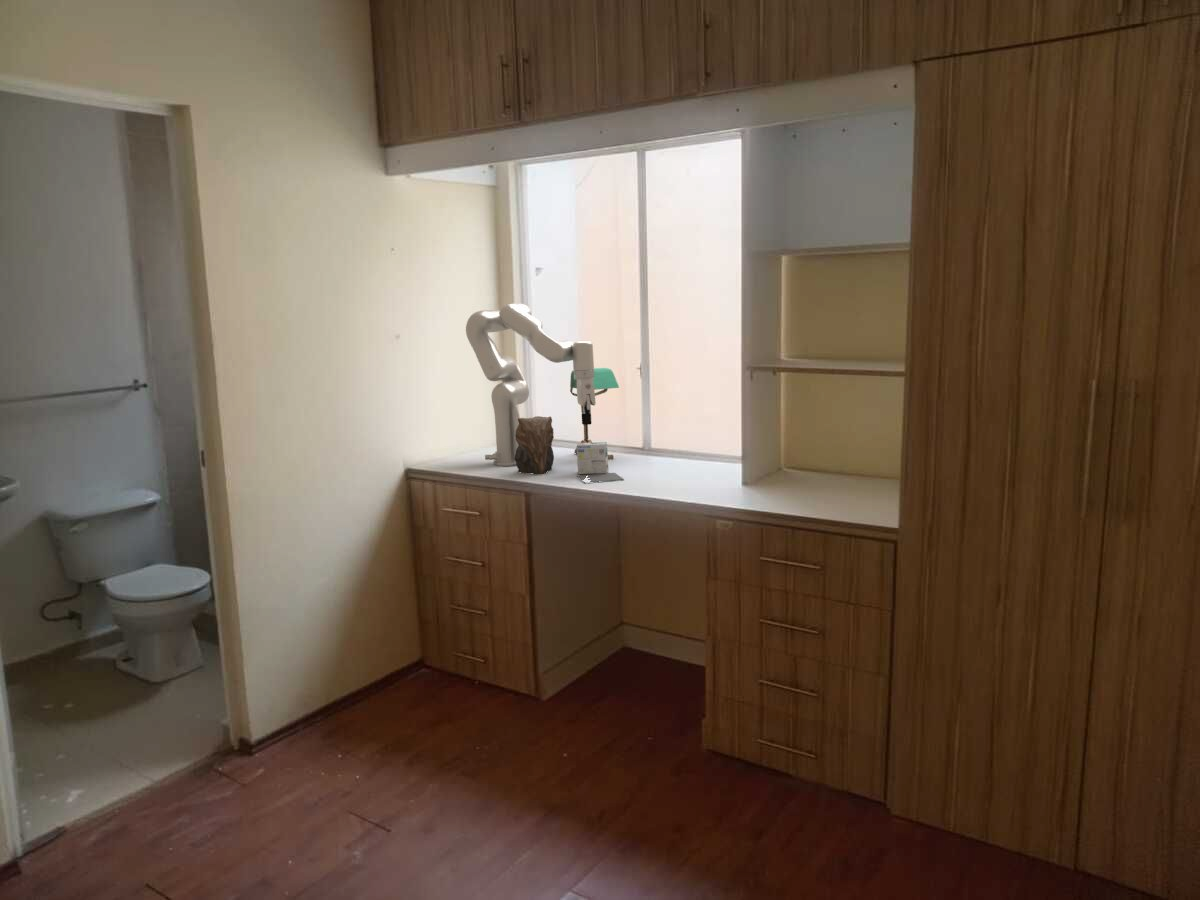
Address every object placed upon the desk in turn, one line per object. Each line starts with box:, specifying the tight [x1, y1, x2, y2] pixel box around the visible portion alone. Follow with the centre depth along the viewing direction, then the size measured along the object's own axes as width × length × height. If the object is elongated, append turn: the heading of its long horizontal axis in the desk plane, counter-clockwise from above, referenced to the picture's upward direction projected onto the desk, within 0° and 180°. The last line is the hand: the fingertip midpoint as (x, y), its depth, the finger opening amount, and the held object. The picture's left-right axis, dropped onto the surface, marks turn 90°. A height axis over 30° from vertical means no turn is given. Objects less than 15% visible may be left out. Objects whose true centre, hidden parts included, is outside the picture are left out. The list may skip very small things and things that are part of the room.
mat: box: [576, 472, 625, 483], centre depth 305 cm, size 14×12×1 cm
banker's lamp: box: [569, 367, 620, 460], centre depth 343 cm, size 16×21×35 cm
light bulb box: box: [576, 441, 609, 475], centre depth 314 cm, size 11×7×11 cm, turn 84°
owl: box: [514, 415, 555, 475], centre depth 321 cm, size 13×13×20 cm
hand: (586, 424), depth 321 cm, fingers closed
